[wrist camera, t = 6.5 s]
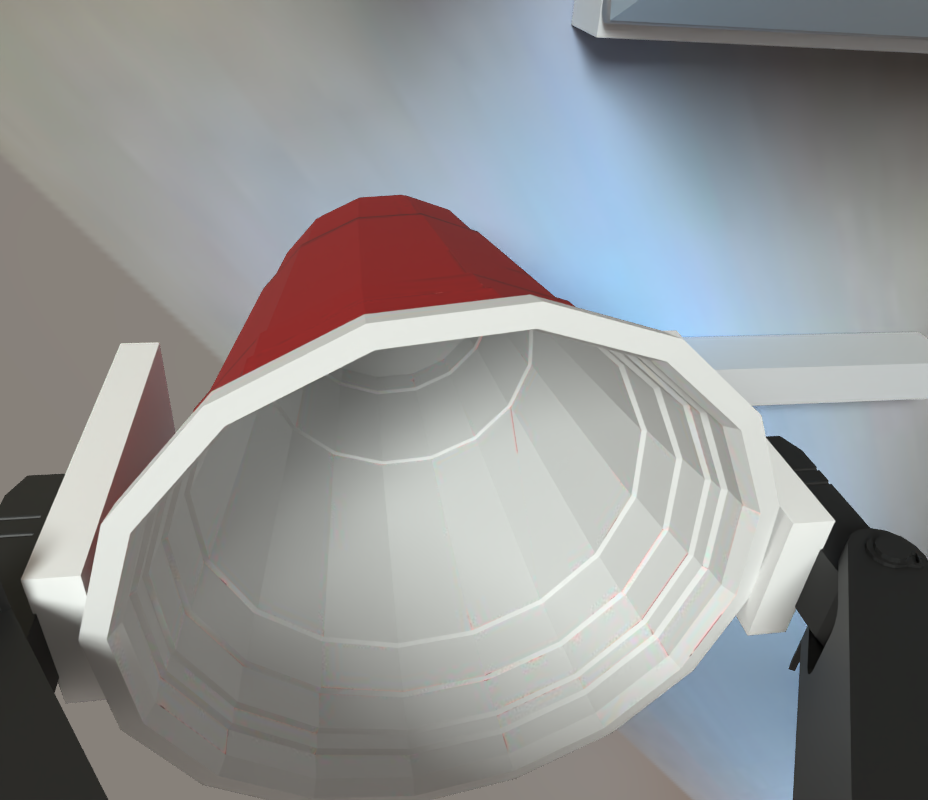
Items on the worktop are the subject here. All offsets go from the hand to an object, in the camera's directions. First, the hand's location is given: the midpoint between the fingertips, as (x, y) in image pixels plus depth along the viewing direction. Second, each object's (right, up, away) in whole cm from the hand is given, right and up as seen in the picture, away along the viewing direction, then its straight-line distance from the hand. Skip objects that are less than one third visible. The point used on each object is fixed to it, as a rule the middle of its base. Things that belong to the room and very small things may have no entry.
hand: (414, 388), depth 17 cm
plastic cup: (-1, +3, +4) cm, 5 cm away
